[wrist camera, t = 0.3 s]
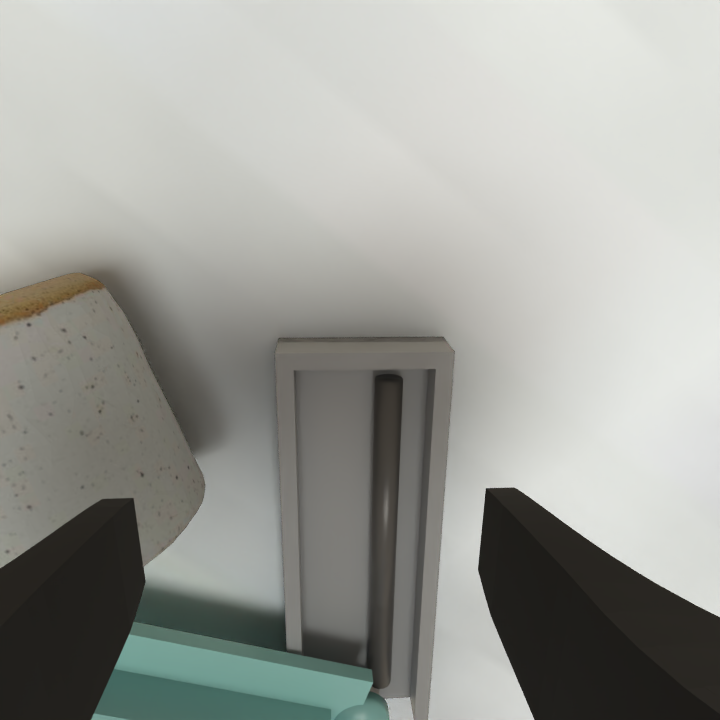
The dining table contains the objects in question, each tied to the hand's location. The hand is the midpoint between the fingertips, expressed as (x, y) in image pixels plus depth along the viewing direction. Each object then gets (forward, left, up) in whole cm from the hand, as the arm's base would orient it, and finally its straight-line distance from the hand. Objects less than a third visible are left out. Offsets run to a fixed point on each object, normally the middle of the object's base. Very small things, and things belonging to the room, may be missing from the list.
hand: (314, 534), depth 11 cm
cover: (-12, +5, -7) cm, 15 cm away
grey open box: (-7, -2, -9) cm, 12 cm away
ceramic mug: (-1, +9, -10) cm, 14 cm away
